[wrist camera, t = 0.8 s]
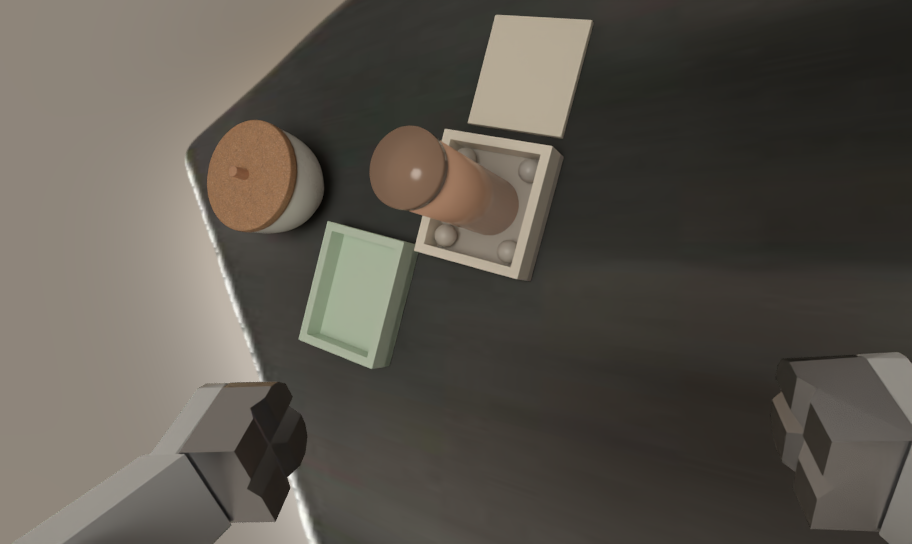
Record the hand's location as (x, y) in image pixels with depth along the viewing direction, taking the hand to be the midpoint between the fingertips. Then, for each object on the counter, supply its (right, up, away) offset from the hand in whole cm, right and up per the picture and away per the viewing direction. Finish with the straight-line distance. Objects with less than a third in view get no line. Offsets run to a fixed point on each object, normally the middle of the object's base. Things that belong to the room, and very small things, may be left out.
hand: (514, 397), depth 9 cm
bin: (+4, +13, +40) cm, 43 cm away
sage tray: (-10, 0, +46) cm, 47 cm away
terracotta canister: (+2, +8, +40) cm, 41 cm away
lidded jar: (-17, +11, +51) cm, 55 cm away
